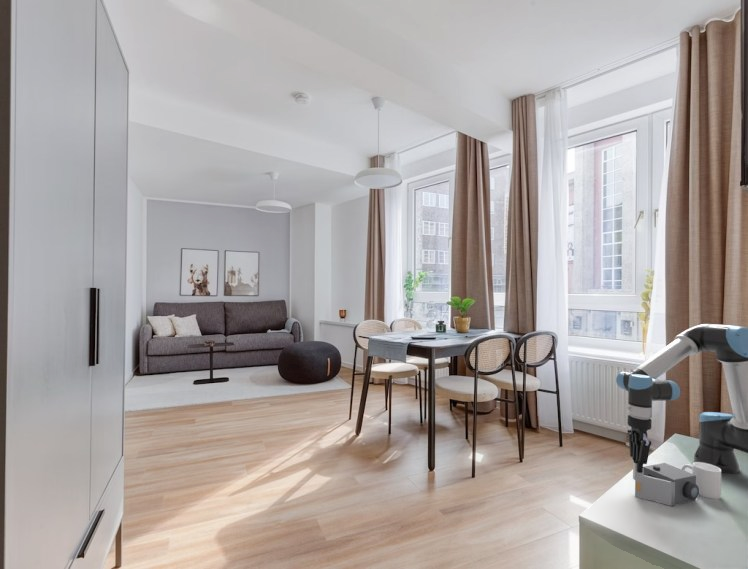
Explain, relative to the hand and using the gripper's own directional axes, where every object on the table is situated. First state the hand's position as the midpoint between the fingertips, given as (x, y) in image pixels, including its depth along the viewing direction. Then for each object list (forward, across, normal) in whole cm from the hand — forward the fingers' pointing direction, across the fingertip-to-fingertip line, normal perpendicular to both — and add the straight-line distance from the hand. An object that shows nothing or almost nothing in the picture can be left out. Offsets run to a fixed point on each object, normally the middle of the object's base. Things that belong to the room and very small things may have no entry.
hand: (637, 479), depth 149 cm
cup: (+5, -6, +24) cm, 25 cm away
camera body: (+4, +1, +11) cm, 12 cm away
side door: (+4, +7, +2) cm, 8 cm away
